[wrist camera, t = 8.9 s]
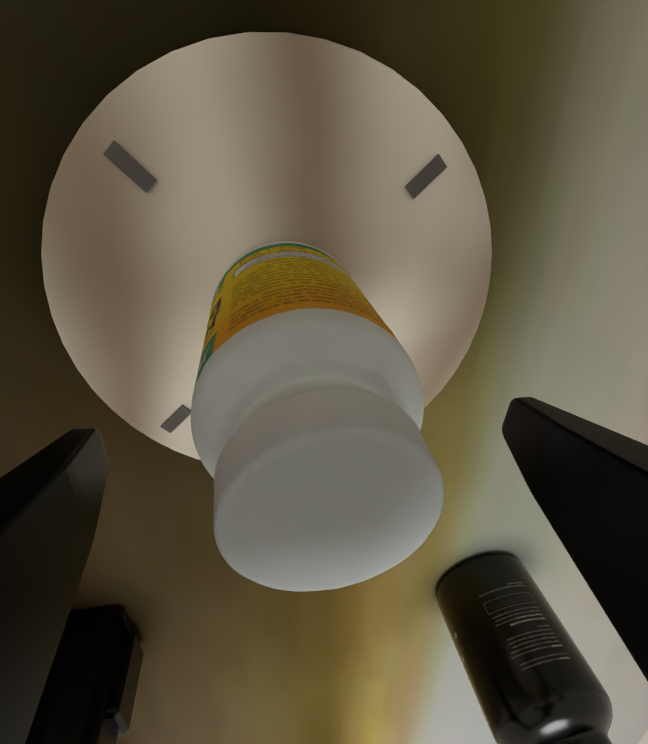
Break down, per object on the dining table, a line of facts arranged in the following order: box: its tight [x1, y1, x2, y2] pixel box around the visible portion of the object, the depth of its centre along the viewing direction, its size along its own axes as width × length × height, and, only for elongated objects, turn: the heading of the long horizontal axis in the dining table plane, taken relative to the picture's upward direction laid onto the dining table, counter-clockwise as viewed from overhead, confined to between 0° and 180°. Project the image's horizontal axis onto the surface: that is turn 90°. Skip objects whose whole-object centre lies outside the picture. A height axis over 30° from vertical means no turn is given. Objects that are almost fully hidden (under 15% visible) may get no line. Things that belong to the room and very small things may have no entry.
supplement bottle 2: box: [437, 554, 613, 744], centre depth 24 cm, size 7×7×12 cm
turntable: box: [41, 32, 492, 460], centre depth 15 cm, size 16×16×1 cm
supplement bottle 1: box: [191, 241, 444, 592], centre depth 11 cm, size 5×5×10 cm
